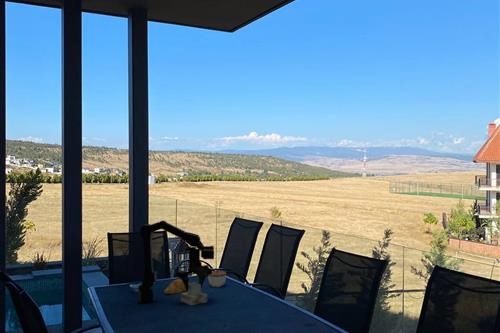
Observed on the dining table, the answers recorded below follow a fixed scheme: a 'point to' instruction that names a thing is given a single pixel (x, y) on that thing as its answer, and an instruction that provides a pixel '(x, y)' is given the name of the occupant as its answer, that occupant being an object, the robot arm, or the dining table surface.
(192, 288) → the sage cube
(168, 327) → the dining table surface
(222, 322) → the dining table surface
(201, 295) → the birch plinth
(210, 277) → the lidded jar
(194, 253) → the robot arm
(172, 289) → the croissant
